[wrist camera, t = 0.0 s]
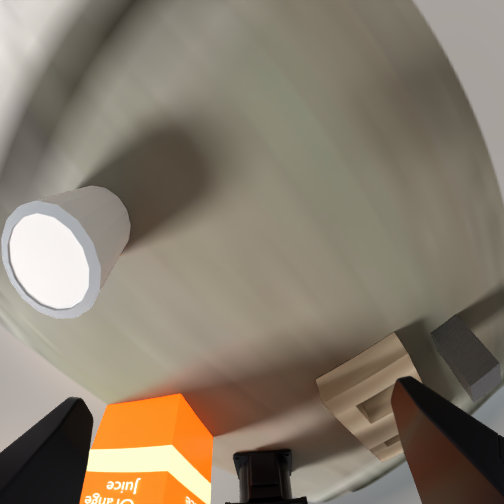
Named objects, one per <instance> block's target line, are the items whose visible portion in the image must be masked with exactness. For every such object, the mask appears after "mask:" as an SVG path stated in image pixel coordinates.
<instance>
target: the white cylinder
mask: <svg viewBox="0 0 504 504" xmlns="http://www.w3.org/2000/svg"><path fill="white" fill-rule="evenodd" d="M130 228H131V224H130V220H129V216H128V212H127V209H126V208H125V206H124V205H123V203H122V202H121V200H120V199H119V197H118V196H116V195H115V194H114V193H112V192H111V191H109V190H108V189H106V188H103V187H98V186H93V185H91V186H87V187H83V188H79V189H76V190H72V191H68V192H64V193H61V194H57V195H54V196H50V197H47V198H43V199H40V200H37V201H33V202H30V203H27V204H23V205H20V206H19V207H18V208H17V209H16V210H15V211H14V212H13V213H12V214H11V216H10V217H9V218H8V219H7V221H6V224H5V227H4V231H3V234H2V238H1V245H2V260H3V263H4V266H5V269H6V271H7V274H8V277H9V279H10V282H11V283H12V284H13V286H14V287H15V289H16V290H17V291H18V293H19V294H20V296H21V297H22V298H23V300H25V301H26V302H27V303H29V304H30V305H31V306H32V307H34V308H35V309H36V310H37V311H39V312H40V313H43V314H46V315H49V316H51V317H54V318H57V319H65V318H77V317H78V316H80V315H81V314H83V313H84V312H86V311H88V310H89V309H91V307H92V305H93V303H94V302H95V300H96V298H97V296H98V294H99V292H100V290H101V288H102V287H103V285H104V283H105V281H106V279H107V277H108V276H109V274H110V272H111V270H112V268H113V267H114V265H115V263H116V261H117V260H118V258H119V256H120V255H121V253H122V251H123V249H124V248H125V246H126V244H127V243H128V241H129V235H130Z"/></svg>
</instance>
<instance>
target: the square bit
mask: <svg viewBox="0 0 504 504" xmlns="http://www.w3.org/2000/svg"><path fill="white" fill-rule="evenodd" d="M431 335H432V337H433V340H434V343H435V345H436V348H437V350H438V352H439V353H440V355H441V356H442V358H443V359H444V360H445V362H446V363H447V365H448V366H449V367H450V369H451V370H452V372H453V373H454V374H455V376H456V377H457V379H458V380H459V382H460V383H461V384H462V386H463V387H464V389H465V390H466V392H467V393H468V395H469V396H470V398H471V399H472V401H473V402H475V401H477V400H478V399H479V398H481V397H482V396H483V395H485V394H486V393H487V392H489V391H490V390H491V389H492V388H494V387H495V386H496V385H497V384H498V383H500V382H501V375H500V364H499V362H498V361H497V360H496V359H495V357H494V356H493V355H492V354H491V353H490V352H489V350H488V349H487V348H486V347H485V346H484V345H483V344H482V342H481V341H480V340H479V339H478V338H477V337H476V336H475V335H474V334H473V332H472V331H471V330H470V329H469V328H468V327H467V326H466V325H465V324H464V323H463V322H462V321H461V319H460V318H459V317H458V316H457V315H454V316H453V317H452V318H450V319H449V320H448V321H447V322H445V323H444V324H443V325H441V326H440V327H438V328H437V329H436V330H434V331H433V332H432V333H431Z"/></svg>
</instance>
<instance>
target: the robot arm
mask: <svg viewBox="0 0 504 504" xmlns="http://www.w3.org/2000/svg"><path fill="white" fill-rule="evenodd" d="M391 406H392V410H393V413H394V417H395V421H396V425H397V429H398V433H399V437H400V441H401V445H402V448H403V451H404V454H405V457H406V460H407V462H408V465H409V468H410V470H411V473H412V475H413V478H414V481H415V484H416V487H417V490H418V493H419V496H420V498H421V502H422V504H504V437H502V436H501V435H498V433H496V432H495V431H493V430H492V429H490V428H488V427H487V426H485V425H484V424H482V423H481V422H479V421H478V420H476V419H475V418H473V417H472V416H470V415H469V414H467V413H466V412H464V411H463V410H461V409H460V408H458V407H457V406H455V405H454V404H452V403H451V402H449V401H448V400H446V399H445V398H443V397H442V396H440V395H439V394H437V393H436V392H434V391H433V390H431V389H430V388H428V387H427V386H425V385H424V384H422V383H421V382H420V381H418V380H417V379H415V378H414V377H412V376H405V377H400V378H398V379H397V380H396V382H395V385H394V389H393V392H392V396H391ZM92 428H93V417H92V414H91V412H90V411H89V409H88V407H87V405H86V404H85V402H84V401H83V399H81V398H78V397H69V398H68V399H66V400H65V401H64V402H62V403H61V404H60V405H59V406H57V407H56V408H55V409H54V410H52V411H51V412H50V413H49V414H48V415H46V416H45V417H44V418H43V419H41V420H40V421H39V422H38V423H36V424H35V425H34V426H33V427H31V428H30V429H29V430H28V431H27V432H25V433H24V434H23V435H22V436H20V437H19V438H18V439H17V440H16V441H14V442H13V443H12V444H11V445H9V446H8V447H7V448H6V449H4V450H3V451H2V452H1V453H0V504H80V499H81V494H82V489H83V484H84V480H85V475H86V470H87V465H88V459H89V451H90V442H91V436H92ZM233 460H234V464H235V468H236V471H237V475H238V479H239V480H240V503H230V502H226V503H225V504H308V503H307V498H306V496H305V497H301V498H295V499H292V492H291V484H290V476H291V466H292V453H291V450H279V451H268V452H255V453H238V454H234V455H233Z"/></svg>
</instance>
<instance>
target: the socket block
mask: <svg viewBox="0 0 504 504" xmlns="http://www.w3.org/2000/svg"><path fill="white" fill-rule="evenodd" d="M405 376H412V377H414V378H415V379H417V380H418V381H420V382H421V383H422V381H421V379H420V377H419V375H418V373H417V371H416V369H415V367H414V365H413V363H412V361H411V359H410V357H409V355H408V353H407V351H406V350H405V348H404V346H403V345H402V343H401V342H400V340H399V339H398V337H397V336H396V334H395V333H394V332H393V333H392V334H390V335H389V336H387V337H386V338H384V339H383V340H381V341H380V342H378V343H377V344H375V345H373V346H372V347H370V348H369V349H367V350H365V351H364V352H362V353H361V354H359V355H357V356H356V357H354V358H352V359H351V360H349V361H347V362H346V363H344V364H342V365H340V366H339V367H337V368H335V369H333V370H332V371H330V372H328V373H326V374H325V375H323V376H321V377H319V378H317V379H316V382H317V386H318V390H319V393H320V397H321V401H322V404H323V405H324V406H325V407H326V408H327V409H328V410H329V411H330V412H331V413H332V414H333V415H334V416H335V417H336V418H337V419H338V420H339V421H340V422H341V423H342V424H343V425H344V426H345V427H346V428H347V429H348V430H349V431H350V432H351V433H352V434H353V435H354V436H355V437H356V438H357V439H358V440H359V441H360V442H361V443H362V444H364V445H365V446H366V447H367V448H368V449H369V450H370V451H371V452H372V453H373V454H374V455H375V456H376V457H377V458H378V459H379V460H380V461H381V462H384V461H386V460H388V459H390V458H392V457H394V456H396V455H398V454H400V453H401V452H403V448H402V445H401V441H400V437H399V433H398V429H397V425H396V421H395V417H394V413H393V410H392V406H391V396H392V392H393V389H394V385H395V384H394V383H395V382H396V380H397V379H398V378H400V377H405ZM392 384H393V385H392ZM422 384H423V383H422ZM391 385H392V386H391ZM389 386H390V387H389ZM386 388H387V389H386ZM384 389H385V390H384ZM381 391H382V392H381ZM379 392H380V393H379ZM377 393H378V394H377ZM376 394H377V395H376ZM374 395H375V396H374ZM372 396H373V397H372ZM370 397H371V398H370ZM369 398H370V399H369ZM367 399H368V400H367ZM365 400H366V401H365ZM363 401H364V402H363Z"/></svg>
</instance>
